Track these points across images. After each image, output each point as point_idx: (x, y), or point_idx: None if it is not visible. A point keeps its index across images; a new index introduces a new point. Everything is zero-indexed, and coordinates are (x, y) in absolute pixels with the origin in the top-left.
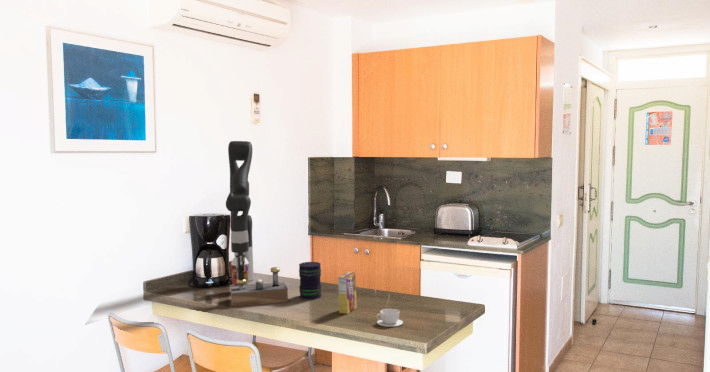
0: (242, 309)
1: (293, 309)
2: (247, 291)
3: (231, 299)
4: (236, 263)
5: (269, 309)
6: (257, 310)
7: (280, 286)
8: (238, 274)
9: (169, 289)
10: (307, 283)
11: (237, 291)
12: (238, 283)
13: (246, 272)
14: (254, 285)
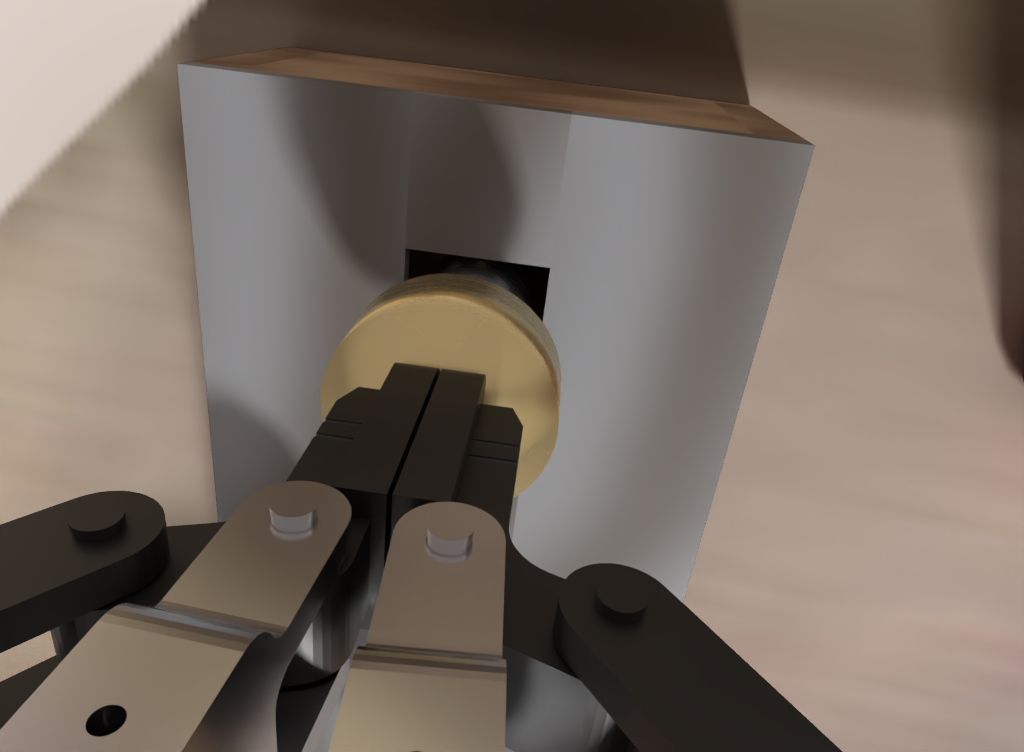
0: (102, 176)
1: (17, 651)
2: (206, 378)
3: (430, 73)
4: (499, 736)
5: (49, 471)
6: (26, 346)
7: None
8: (356, 436)
9: None
10: None
11: (255, 208)
12: (367, 307)
13: None
14: (595, 563)
